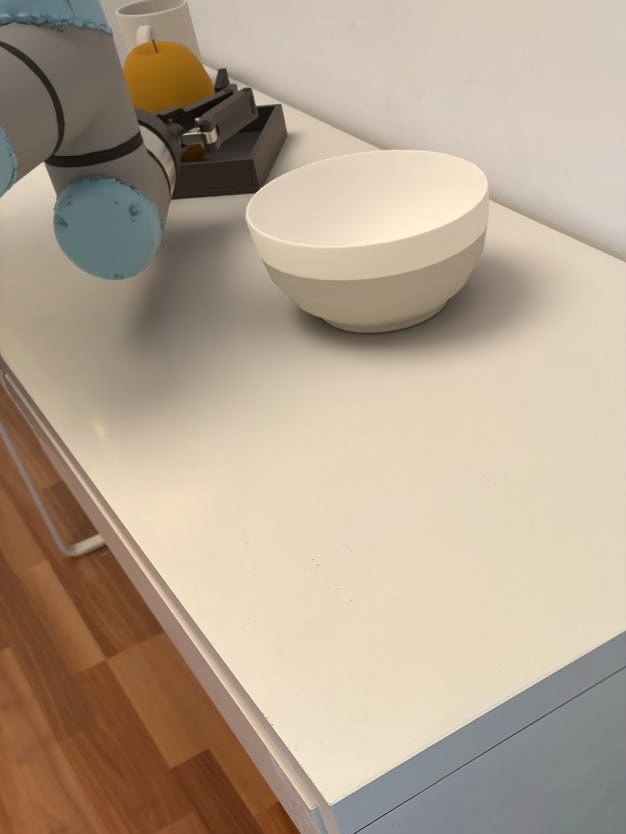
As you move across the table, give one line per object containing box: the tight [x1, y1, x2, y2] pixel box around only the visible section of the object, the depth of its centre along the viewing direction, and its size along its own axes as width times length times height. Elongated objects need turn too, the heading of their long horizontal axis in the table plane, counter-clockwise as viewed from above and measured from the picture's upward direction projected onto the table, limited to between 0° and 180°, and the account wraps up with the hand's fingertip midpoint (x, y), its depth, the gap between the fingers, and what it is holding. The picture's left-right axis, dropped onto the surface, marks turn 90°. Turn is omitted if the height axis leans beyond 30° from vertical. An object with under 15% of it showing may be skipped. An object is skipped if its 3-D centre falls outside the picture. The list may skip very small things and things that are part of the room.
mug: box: [115, 0, 205, 68], centre depth 124 cm, size 11×10×10 cm
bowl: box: [245, 149, 490, 334], centre depth 78 cm, size 19×19×9 cm
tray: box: [171, 103, 288, 200], centre depth 106 cm, size 19×17×3 cm
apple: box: [122, 39, 215, 163], centre depth 103 cm, size 10×10×12 cm
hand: (159, 91), depth 99 cm, fingers open, 13 cm apart
